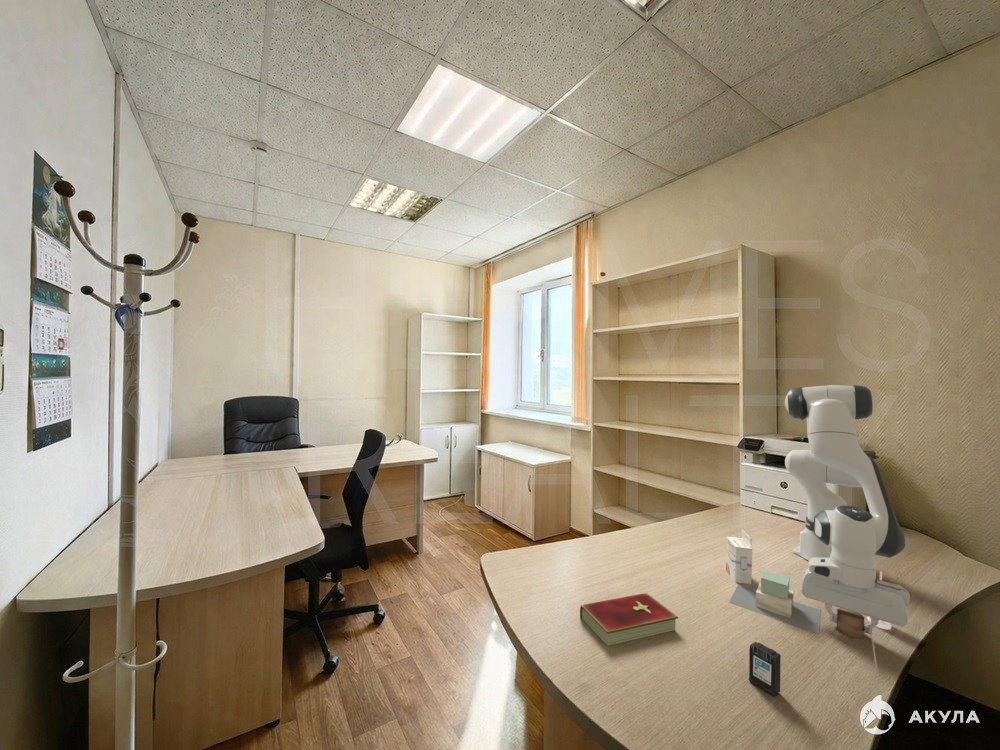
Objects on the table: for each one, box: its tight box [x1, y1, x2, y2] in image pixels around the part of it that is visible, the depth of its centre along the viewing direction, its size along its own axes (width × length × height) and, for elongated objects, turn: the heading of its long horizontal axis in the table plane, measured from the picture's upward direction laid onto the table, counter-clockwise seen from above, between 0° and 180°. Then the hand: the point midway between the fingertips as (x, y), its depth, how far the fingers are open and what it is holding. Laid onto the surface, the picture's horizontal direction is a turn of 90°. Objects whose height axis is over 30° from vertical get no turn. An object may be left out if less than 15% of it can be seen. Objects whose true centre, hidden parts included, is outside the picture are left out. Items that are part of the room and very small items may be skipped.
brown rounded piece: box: [836, 607, 865, 639], centre depth 102 cm, size 5×5×5 cm
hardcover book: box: [579, 592, 679, 647], centre depth 103 cm, size 12×21×4 cm, turn 110°
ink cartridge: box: [748, 641, 782, 697], centre depth 83 cm, size 5×2×8 cm, turn 32°
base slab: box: [756, 580, 795, 618], centre depth 112 cm, size 8×8×4 cm
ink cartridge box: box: [725, 529, 753, 585], centre depth 129 cm, size 9×5×15 cm, turn 168°
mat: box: [728, 583, 822, 635], centre depth 112 cm, size 14×20×1 cm
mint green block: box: [760, 569, 791, 600], centre depth 112 cm, size 6×6×4 cm
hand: (850, 626), depth 102 cm, fingers closed on brown rounded piece, 5 cm apart
